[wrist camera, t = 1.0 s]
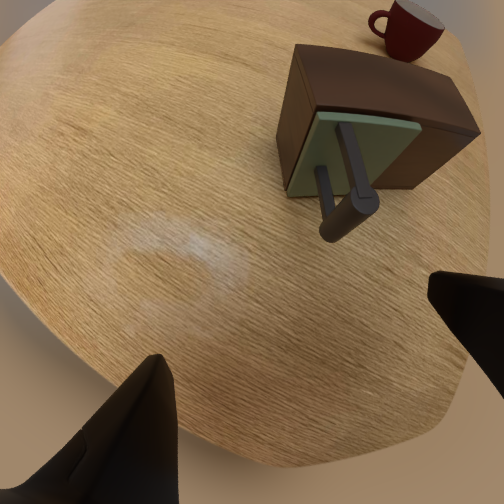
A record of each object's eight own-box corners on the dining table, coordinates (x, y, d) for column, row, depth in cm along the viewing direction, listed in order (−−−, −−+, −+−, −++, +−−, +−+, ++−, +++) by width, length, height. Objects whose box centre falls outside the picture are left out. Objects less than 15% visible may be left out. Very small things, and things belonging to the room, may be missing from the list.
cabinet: (412, 189, 25) (481, 133, 14) (284, 191, 24) (316, 104, 13) (396, 141, 26) (450, 76, 15) (275, 136, 25) (295, 43, 14)
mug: (366, 59, 30) (390, 8, 20) (355, 32, 31) (372, -13, 21) (425, 78, 30) (453, 37, 20) (409, 49, 32) (431, 11, 22)
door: (372, 251, 23) (450, 210, 12) (295, 258, 22) (341, 214, 12) (359, 188, 24) (419, 122, 13) (286, 190, 23) (316, 110, 13)
